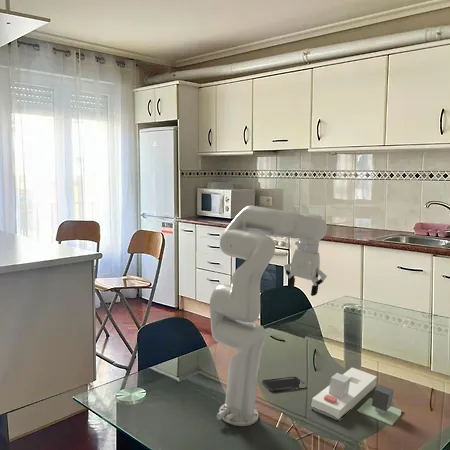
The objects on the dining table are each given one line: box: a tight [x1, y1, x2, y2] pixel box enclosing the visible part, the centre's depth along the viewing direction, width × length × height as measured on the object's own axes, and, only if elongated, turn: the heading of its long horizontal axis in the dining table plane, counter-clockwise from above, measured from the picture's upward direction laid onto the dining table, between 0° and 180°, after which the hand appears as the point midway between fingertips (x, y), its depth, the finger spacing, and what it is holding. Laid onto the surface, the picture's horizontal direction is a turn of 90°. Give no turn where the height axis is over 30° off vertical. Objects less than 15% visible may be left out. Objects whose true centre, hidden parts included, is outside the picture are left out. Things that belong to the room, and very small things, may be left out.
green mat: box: [356, 397, 402, 426], centre depth 172 cm, size 12×12×1 cm
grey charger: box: [329, 372, 350, 399], centre depth 173 cm, size 5×5×8 cm
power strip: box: [310, 367, 378, 419], centre depth 179 cm, size 34×10×5 cm, turn 144°
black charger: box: [372, 383, 394, 414], centre depth 172 cm, size 5×5×8 cm
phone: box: [261, 376, 305, 393], centre depth 184 cm, size 8×1×15 cm
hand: (302, 291), depth 189 cm, fingers open, 9 cm apart
